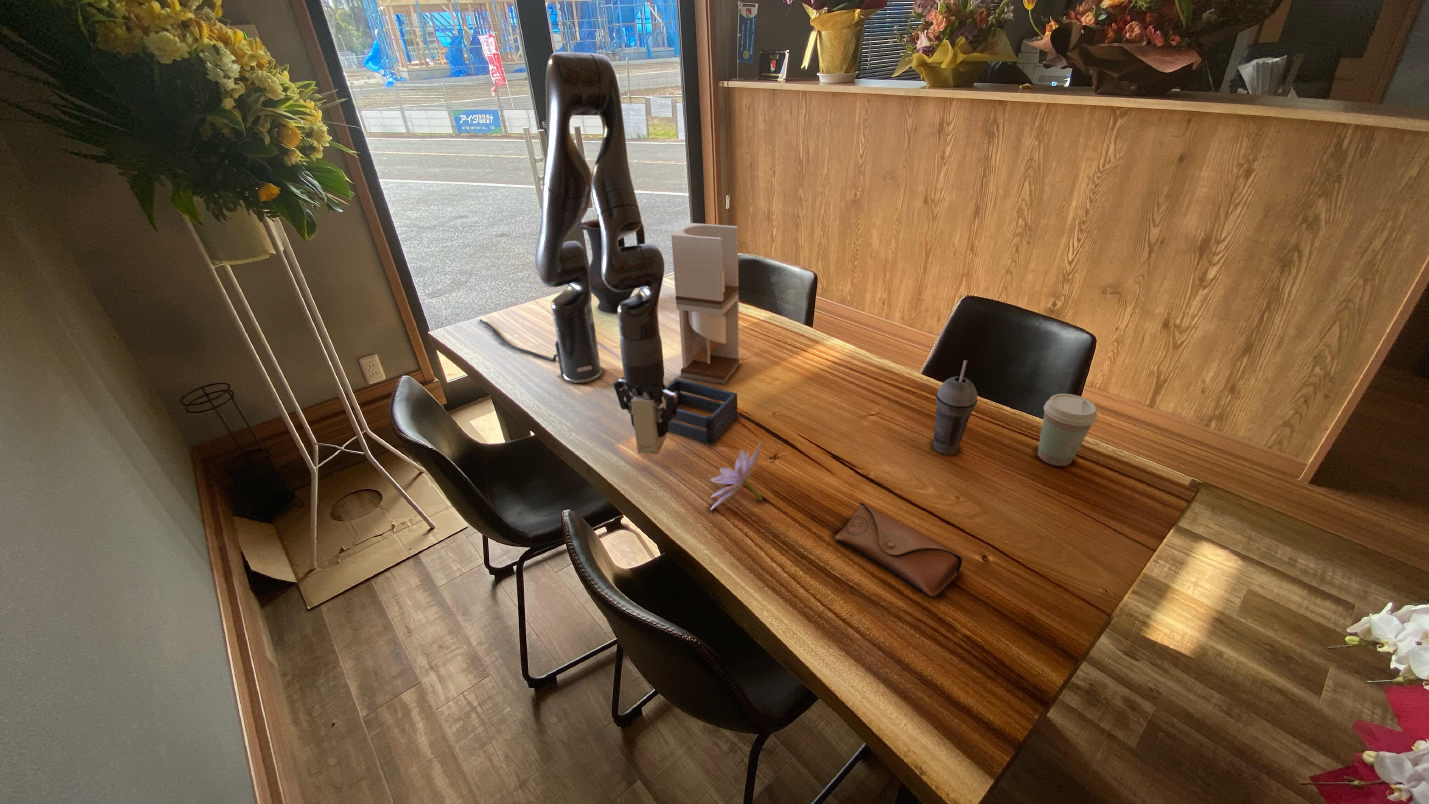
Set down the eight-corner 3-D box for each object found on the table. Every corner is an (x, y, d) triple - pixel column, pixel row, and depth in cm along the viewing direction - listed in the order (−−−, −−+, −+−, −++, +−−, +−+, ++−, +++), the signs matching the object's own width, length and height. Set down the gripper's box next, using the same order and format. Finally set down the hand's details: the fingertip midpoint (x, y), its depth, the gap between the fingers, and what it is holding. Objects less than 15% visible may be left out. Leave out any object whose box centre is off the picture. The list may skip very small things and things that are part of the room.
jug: (576, 318, 176) (560, 219, 160) (596, 296, 191) (583, 204, 176) (642, 321, 172) (632, 219, 157) (658, 298, 188) (650, 204, 172)
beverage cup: (964, 440, 115) (986, 351, 105) (965, 461, 110) (988, 369, 99) (926, 434, 117) (944, 346, 107) (925, 454, 112) (943, 364, 101)
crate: (648, 425, 123) (646, 402, 120) (677, 400, 132) (675, 378, 129) (711, 444, 117) (710, 419, 114) (737, 416, 125) (737, 393, 122)
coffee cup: (1060, 476, 105) (1080, 421, 99) (1019, 452, 111) (1036, 399, 105) (1089, 462, 108) (1110, 408, 102) (1048, 439, 115) (1066, 387, 109)
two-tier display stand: (681, 376, 142) (671, 235, 124) (698, 358, 150) (691, 223, 132) (724, 383, 138) (720, 239, 120) (739, 364, 146) (737, 226, 128)
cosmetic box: (657, 455, 112) (652, 403, 106) (636, 453, 113) (630, 401, 106) (666, 437, 117) (662, 386, 111) (645, 435, 118) (640, 384, 112)
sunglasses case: (830, 538, 93) (845, 501, 92) (849, 534, 98) (863, 499, 97) (935, 600, 82) (954, 559, 81) (950, 592, 87) (967, 553, 86)
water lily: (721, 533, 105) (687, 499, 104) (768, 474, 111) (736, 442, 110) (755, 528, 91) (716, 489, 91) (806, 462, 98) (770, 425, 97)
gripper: (686, 354, 104) (691, 431, 113) (622, 339, 110) (632, 413, 119) (663, 371, 99) (670, 451, 107) (598, 355, 105) (609, 432, 114)
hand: (650, 431), depth 113 cm, fingers closed on cosmetic box, 5 cm apart
